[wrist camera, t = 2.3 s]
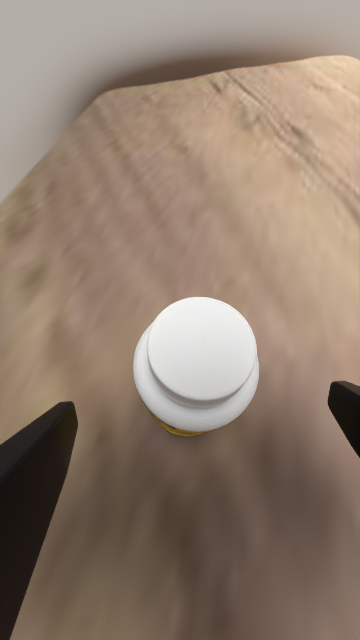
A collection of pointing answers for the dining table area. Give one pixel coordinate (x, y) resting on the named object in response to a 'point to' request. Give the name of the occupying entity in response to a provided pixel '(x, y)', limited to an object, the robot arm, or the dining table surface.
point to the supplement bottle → (196, 366)
